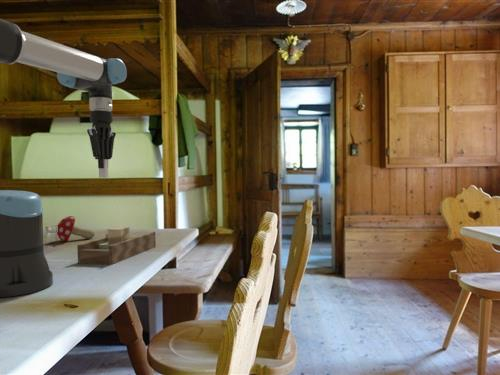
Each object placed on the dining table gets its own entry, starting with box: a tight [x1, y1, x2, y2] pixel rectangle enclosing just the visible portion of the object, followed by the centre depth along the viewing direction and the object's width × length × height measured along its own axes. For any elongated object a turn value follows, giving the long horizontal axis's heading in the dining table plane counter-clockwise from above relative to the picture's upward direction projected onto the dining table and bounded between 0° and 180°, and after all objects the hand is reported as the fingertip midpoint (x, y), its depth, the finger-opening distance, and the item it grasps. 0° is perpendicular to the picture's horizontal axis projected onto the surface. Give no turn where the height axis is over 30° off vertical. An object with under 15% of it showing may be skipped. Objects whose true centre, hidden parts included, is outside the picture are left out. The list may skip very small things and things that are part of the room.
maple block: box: [107, 226, 131, 244], centre depth 125 cm, size 5×5×5 cm
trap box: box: [76, 231, 157, 265], centre depth 126 cm, size 27×12×6 cm, turn 166°
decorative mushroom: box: [56, 215, 95, 242], centre depth 157 cm, size 11×11×15 cm
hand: (103, 177), depth 133 cm, fingers closed
